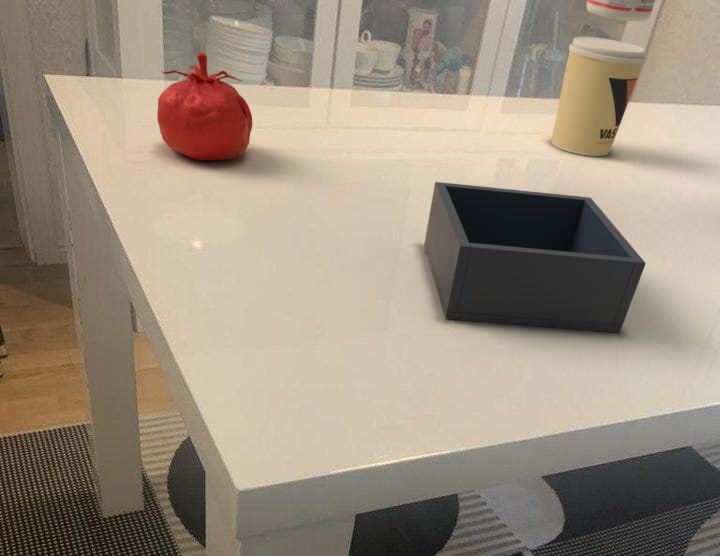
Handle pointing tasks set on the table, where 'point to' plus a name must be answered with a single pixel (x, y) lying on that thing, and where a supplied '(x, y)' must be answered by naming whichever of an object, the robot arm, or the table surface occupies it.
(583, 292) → the dark grey open box
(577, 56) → the coffee cup
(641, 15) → the pill bottle
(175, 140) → the red tomato
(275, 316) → the table surface
